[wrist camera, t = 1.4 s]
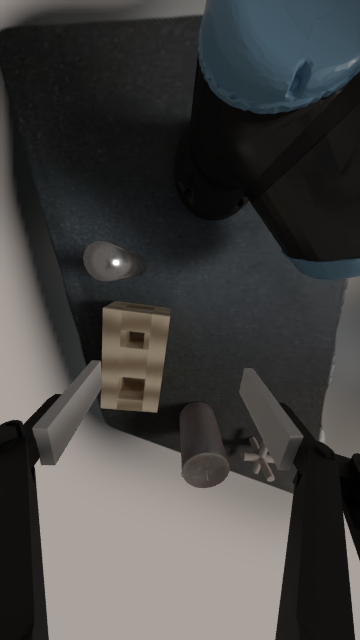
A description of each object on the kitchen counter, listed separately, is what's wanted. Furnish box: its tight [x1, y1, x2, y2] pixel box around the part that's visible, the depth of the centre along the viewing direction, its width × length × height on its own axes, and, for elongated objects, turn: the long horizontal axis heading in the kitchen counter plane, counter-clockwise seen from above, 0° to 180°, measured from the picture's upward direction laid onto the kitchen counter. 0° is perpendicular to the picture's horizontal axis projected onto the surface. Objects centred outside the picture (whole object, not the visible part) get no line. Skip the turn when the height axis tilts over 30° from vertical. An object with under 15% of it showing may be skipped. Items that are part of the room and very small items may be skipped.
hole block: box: [101, 301, 170, 412], centre depth 37 cm, size 22×12×7 cm, turn 172°
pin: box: [83, 241, 147, 281], centre depth 26 cm, size 4×4×18 cm
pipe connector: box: [241, 437, 275, 482], centre depth 46 cm, size 10×10×10 cm
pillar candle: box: [179, 402, 229, 488], centre depth 40 cm, size 10×10×15 cm
